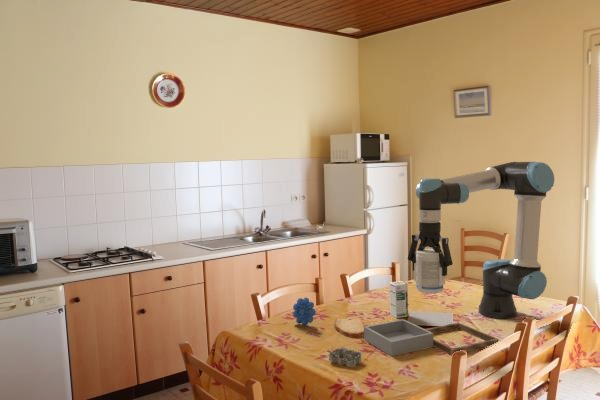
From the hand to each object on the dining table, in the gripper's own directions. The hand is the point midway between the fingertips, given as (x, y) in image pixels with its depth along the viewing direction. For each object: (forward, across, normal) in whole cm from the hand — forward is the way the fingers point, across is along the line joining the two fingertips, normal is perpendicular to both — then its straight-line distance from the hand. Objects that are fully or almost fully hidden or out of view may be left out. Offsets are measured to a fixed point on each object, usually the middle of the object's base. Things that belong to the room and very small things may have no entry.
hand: (429, 282), depth 186 cm
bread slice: (+23, -31, -6) cm, 39 cm away
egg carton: (+24, -12, -33) cm, 43 cm away
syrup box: (+23, -26, +19) cm, 39 cm away
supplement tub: (+3, 0, 0) cm, 3 cm away
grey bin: (+23, -8, -8) cm, 25 cm away
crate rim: (+22, +6, +8) cm, 25 cm away
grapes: (+23, -48, -15) cm, 56 cm away
